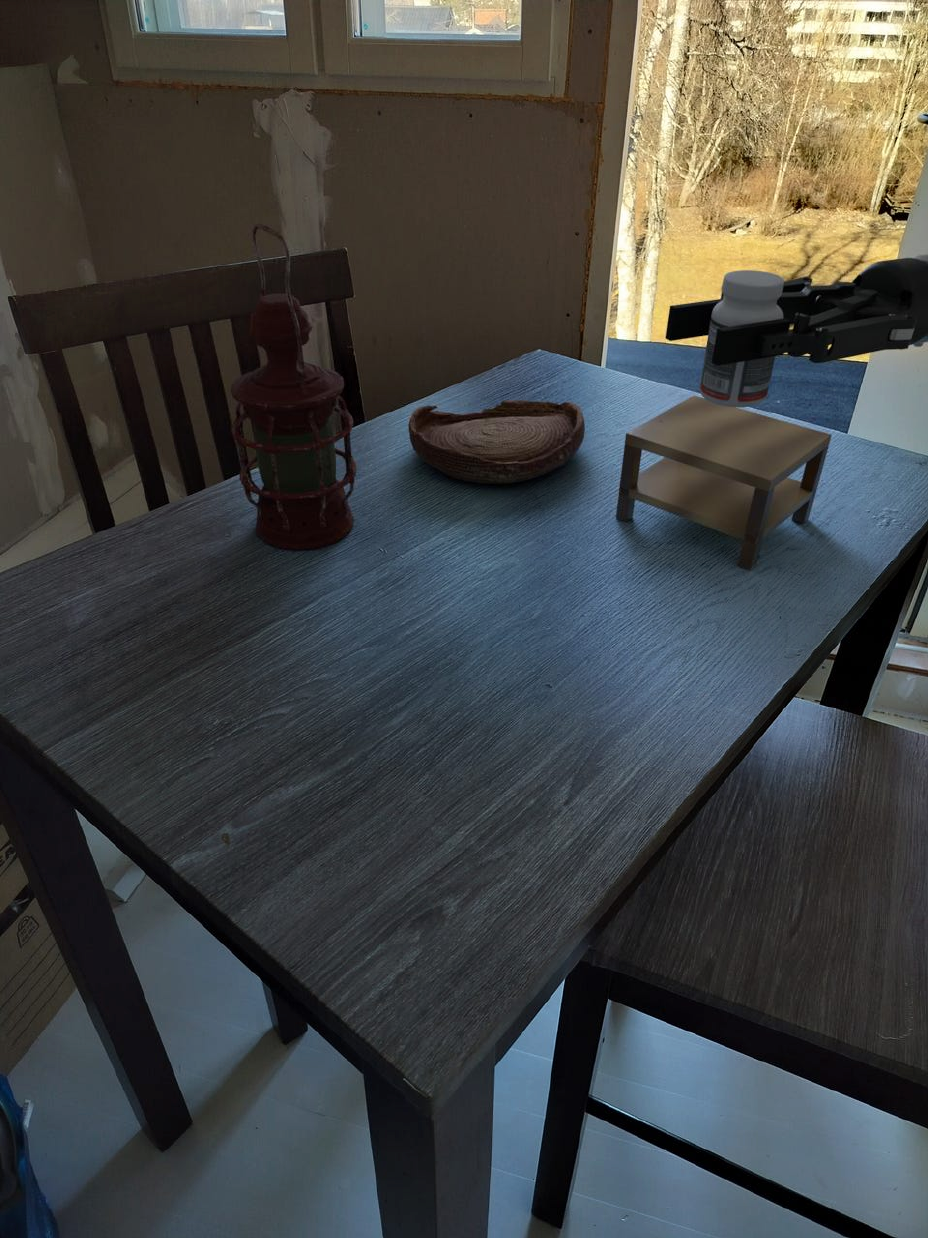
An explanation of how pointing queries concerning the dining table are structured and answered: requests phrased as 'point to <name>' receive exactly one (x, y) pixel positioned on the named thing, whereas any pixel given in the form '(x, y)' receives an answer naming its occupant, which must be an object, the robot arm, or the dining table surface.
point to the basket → (498, 440)
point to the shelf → (723, 470)
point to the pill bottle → (742, 304)
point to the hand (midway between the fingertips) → (693, 334)
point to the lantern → (292, 429)
